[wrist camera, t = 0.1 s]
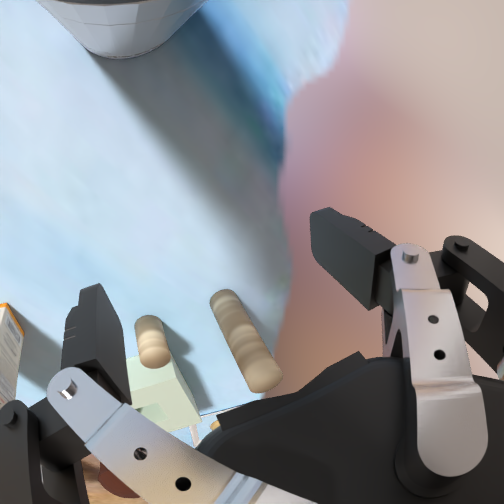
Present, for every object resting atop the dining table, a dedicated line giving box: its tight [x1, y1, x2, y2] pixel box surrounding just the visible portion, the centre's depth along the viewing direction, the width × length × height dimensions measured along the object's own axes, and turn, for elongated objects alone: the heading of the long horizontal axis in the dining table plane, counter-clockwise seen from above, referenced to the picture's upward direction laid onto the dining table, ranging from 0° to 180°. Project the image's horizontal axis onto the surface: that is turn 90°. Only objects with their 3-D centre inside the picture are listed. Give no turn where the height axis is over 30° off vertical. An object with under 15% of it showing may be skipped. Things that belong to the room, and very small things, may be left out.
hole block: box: [126, 350, 202, 432], centre depth 35 cm, size 12×12×5 cm
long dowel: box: [210, 289, 283, 393], centre depth 30 cm, size 3×3×12 cm
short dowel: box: [135, 315, 171, 369], centre depth 31 cm, size 3×3×5 cm
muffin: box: [98, 462, 140, 498], centre depth 40 cm, size 12×11×10 cm
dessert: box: [189, 404, 245, 447], centre depth 49 cm, size 12×12×5 cm
